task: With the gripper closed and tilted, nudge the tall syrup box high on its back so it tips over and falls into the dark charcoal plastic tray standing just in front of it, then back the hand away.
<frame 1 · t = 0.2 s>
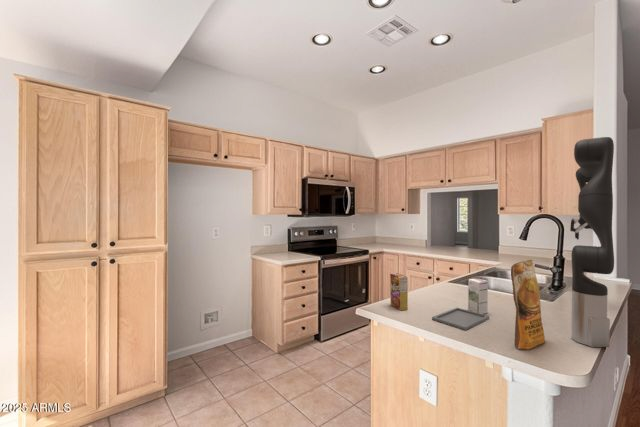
hand: (589, 239, 146), 31 cm above the countertop, tool tilted 20°, fingers open, 8 cm apart
syrup box: (477, 312, 135), on the countertop
pancake mix bag: (527, 343, 104), on the countertop
candy box: (398, 307, 141), on the countertop
tray: (460, 319, 126), on the countertop
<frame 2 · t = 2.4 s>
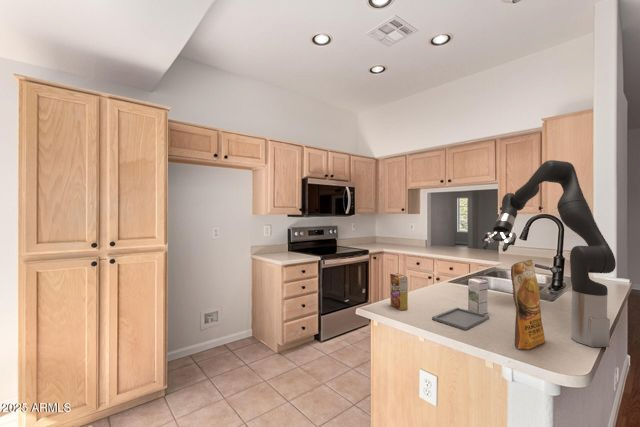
hand: (493, 249, 144), 27 cm above the countertop, tool tilted 45°, fingers open, 8 cm apart
nothing on the countertop moved.
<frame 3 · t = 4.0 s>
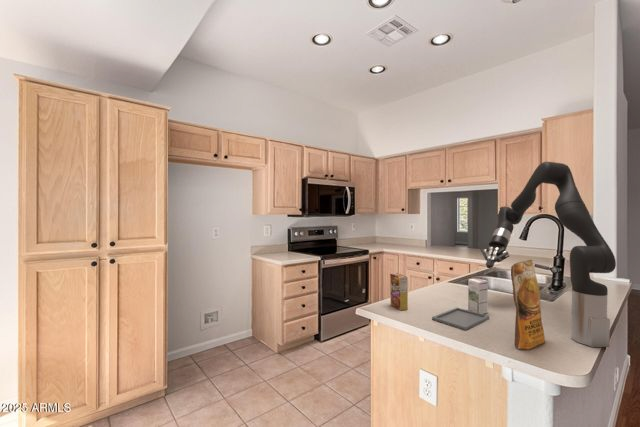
hand: (488, 267, 141), 19 cm above the countertop, tool tilted 45°, fingers closed
nothing on the countertop moved.
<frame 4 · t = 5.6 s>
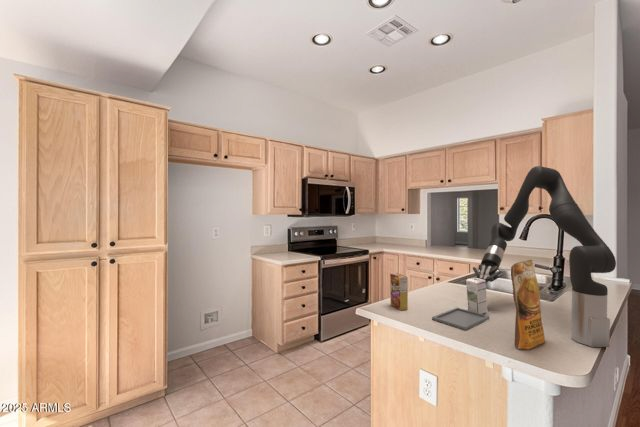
hand: (480, 286, 136), 11 cm above the countertop, tool tilted 45°, fingers closed
syrup box: (477, 311, 135), on the countertop, touching gripper
everything else where it was.
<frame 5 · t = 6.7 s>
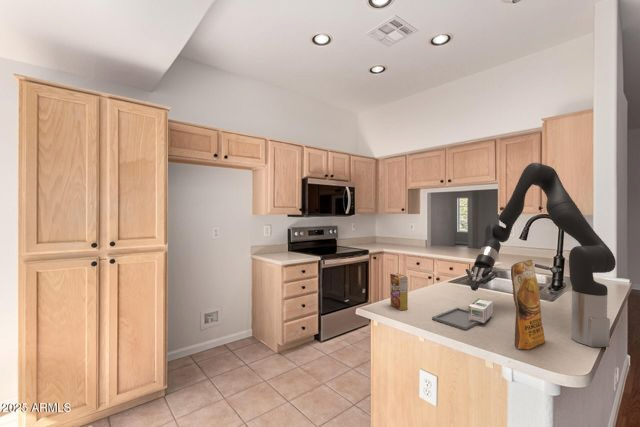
hand: (473, 289, 132), 11 cm above the countertop, tool tilted 45°, fingers closed
syrup box: (485, 306, 131), point 4 cm above the countertop, touching tray
everything else where it was.
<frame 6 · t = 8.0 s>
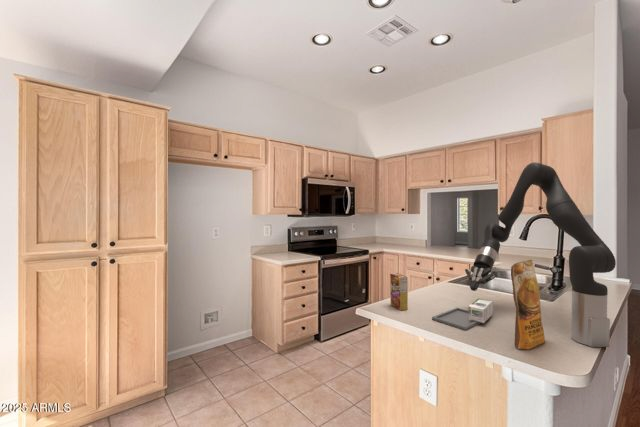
hand: (472, 289, 131), 11 cm above the countertop, tool tilted 45°, fingers closed
nothing on the countertop moved.
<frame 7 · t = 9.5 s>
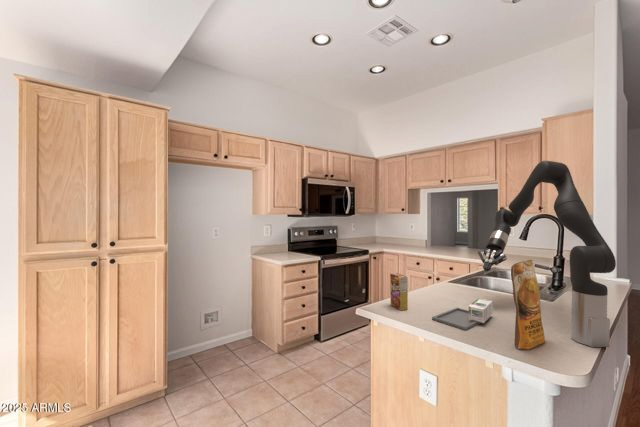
hand: (485, 270, 139), 18 cm above the countertop, tool tilted 45°, fingers closed
nothing on the countertop moved.
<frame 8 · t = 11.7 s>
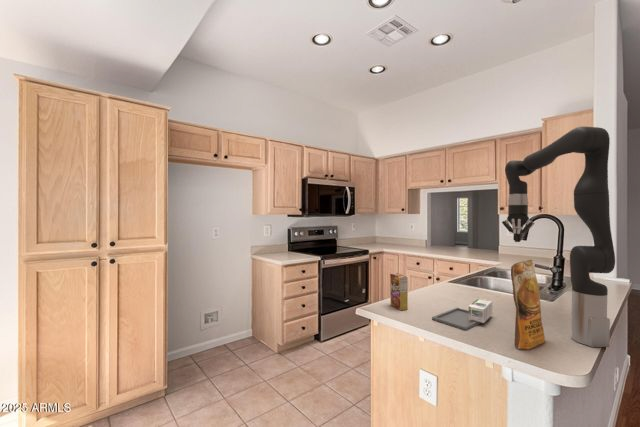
hand: (517, 241, 138), 31 cm above the countertop, tool pointing down, fingers closed
nothing on the countertop moved.
at the end: syrup box tilted 89°; syrup box touching tray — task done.
